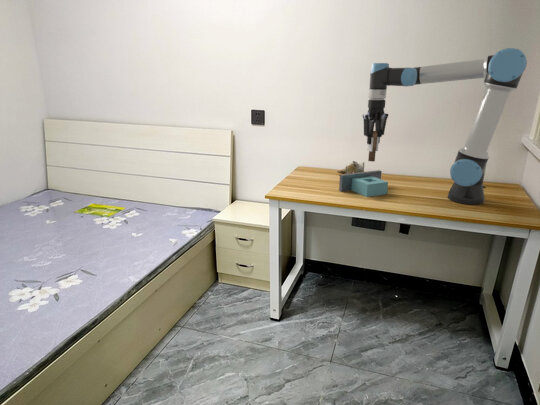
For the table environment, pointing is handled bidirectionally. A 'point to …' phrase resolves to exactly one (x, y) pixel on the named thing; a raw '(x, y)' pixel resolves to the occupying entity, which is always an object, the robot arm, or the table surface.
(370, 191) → the block
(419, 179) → the table surface
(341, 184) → the backstop
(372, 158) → the dowel
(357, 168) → the ceramic sculpture
